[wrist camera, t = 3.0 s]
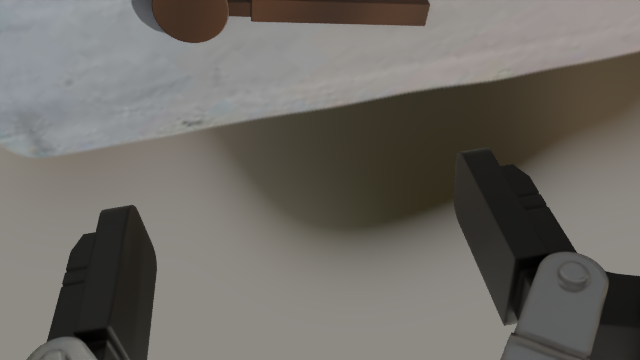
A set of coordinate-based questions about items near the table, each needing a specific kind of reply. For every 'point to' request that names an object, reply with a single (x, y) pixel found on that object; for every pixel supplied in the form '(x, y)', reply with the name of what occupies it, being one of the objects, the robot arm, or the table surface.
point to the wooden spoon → (280, 14)
